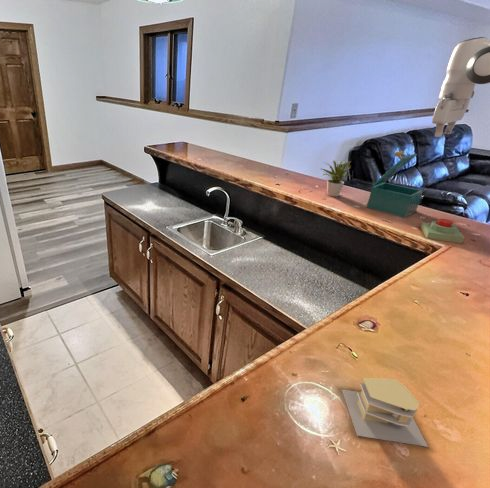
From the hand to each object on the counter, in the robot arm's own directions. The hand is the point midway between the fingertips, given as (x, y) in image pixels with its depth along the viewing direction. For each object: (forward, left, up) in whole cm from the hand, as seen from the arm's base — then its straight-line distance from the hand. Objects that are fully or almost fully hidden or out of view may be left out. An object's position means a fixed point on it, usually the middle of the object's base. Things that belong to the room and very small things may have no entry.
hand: (442, 135), depth 124 cm
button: (-4, +17, -27) cm, 33 cm away
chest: (+8, -6, -31) cm, 32 cm away
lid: (+10, -7, -15) cm, 20 cm away
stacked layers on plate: (+24, +107, -31) cm, 114 cm away
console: (-4, +17, -31) cm, 36 cm away
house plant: (+30, -19, -31) cm, 47 cm away
